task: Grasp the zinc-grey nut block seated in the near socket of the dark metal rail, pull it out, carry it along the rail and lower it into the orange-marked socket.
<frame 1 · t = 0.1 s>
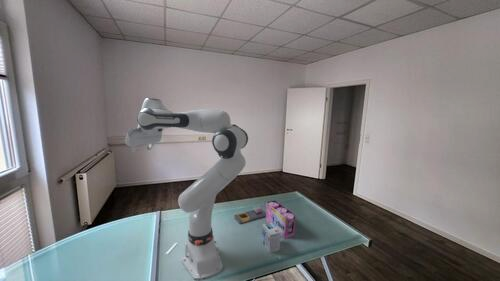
hand: (141, 150, 106), 52 cm above the table, tool tilted 20°, fingers open, 8 cm apart
rail: (250, 217, 139), on the table
pink product box: (279, 227, 129), on the table
light bulb box: (270, 246, 110), on the table
nut: (257, 215, 142), resting on rail
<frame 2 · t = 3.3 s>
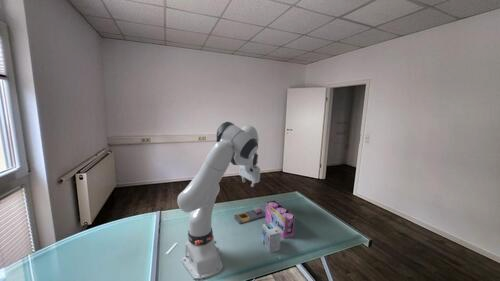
hand: (247, 184, 144), 22 cm above the table, tool pointing down, fingers open, 8 cm apart
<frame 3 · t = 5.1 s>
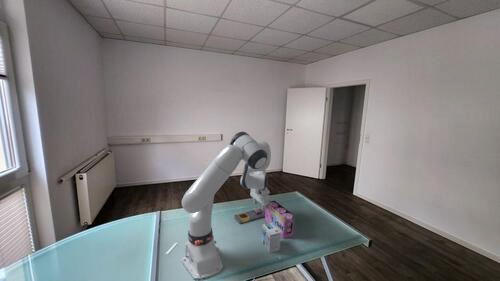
hand: (258, 206, 141), 8 cm above the table, tool pointing down, fingers open, 8 cm apart
nothing on the table moved.
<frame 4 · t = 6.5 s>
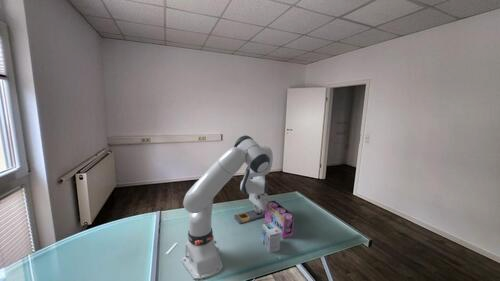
hand: (257, 210, 142), 4 cm above the table, tool pointing down, fingers closed on nut, 4 cm apart
nut: (257, 215, 142), point 1 cm above the table, touching gripper, rail
everything else where it was.
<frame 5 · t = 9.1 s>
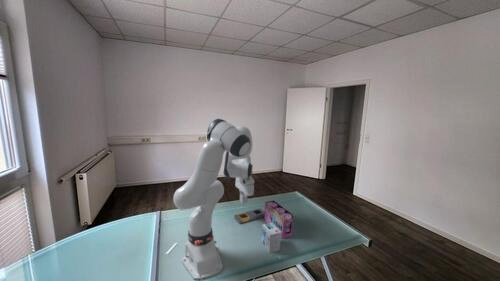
hand: (243, 197, 134), 17 cm above the table, tool pointing down, fingers closed on nut, 4 cm apart
nut: (243, 201, 134), point 13 cm above the table, touching gripper
when the fingers open (5 cm above the table, at t = 12.0 s): nut stays where it is, resting on rail.
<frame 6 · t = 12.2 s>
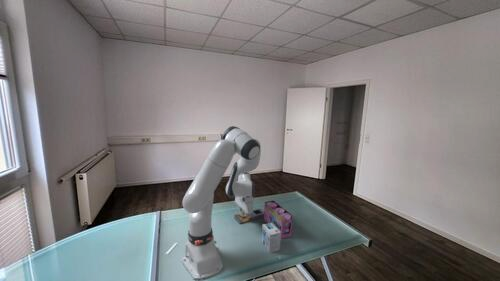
hand: (243, 213, 135), 5 cm above the table, tool pointing down, fingers open, 6 cm apart
nut: (243, 219, 136), resting on rail
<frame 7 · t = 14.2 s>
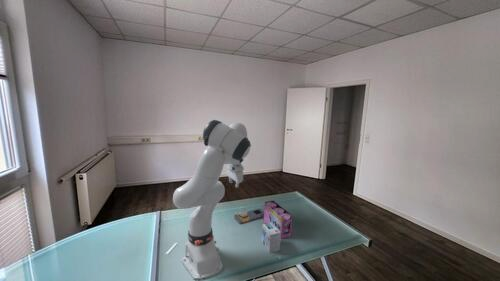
hand: (233, 184, 134), 25 cm above the table, tool pointing down, fingers open, 8 cm apart
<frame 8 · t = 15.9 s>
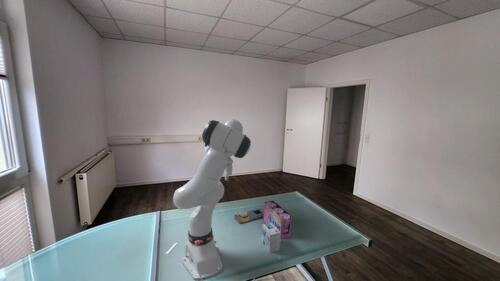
hand: (223, 178, 135), 29 cm above the table, tool pointing down, fingers open, 8 cm apart
at the end: nut 0.1 cm from the target spot on the rail, point 0.5 cm above the rail's base; nut tilted 0°; the gripper is holding nothing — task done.
